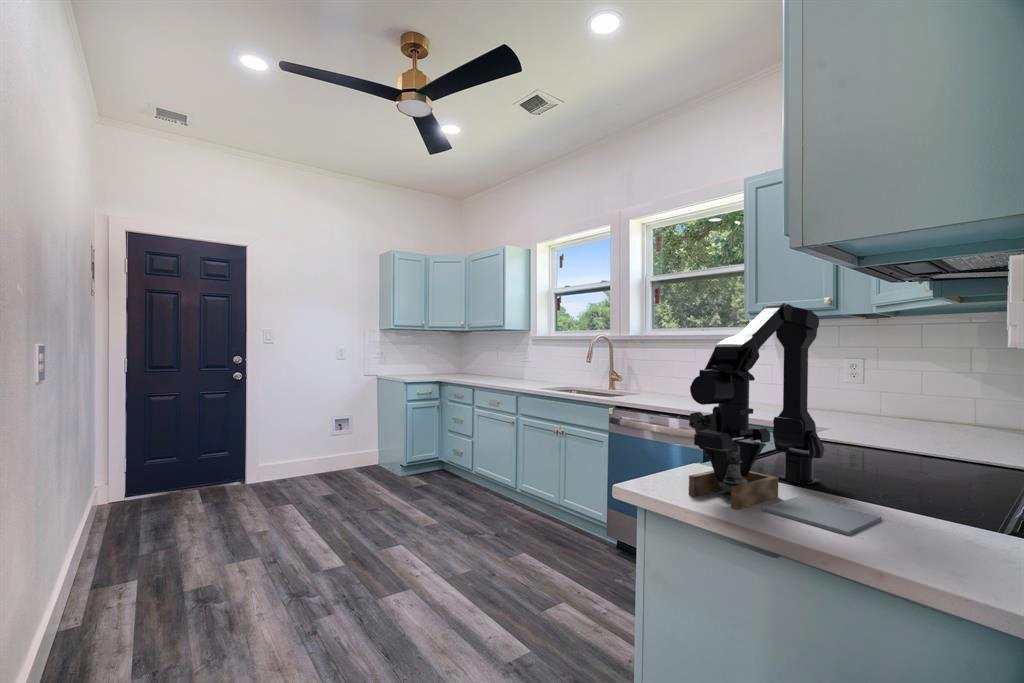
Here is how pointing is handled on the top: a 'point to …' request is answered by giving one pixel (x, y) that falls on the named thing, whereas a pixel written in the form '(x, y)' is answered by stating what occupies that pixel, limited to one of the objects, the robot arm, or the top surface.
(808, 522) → the slate mat
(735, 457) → the grey tall turned piece
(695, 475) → the brown wooden u-shaped frame
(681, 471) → the top surface
